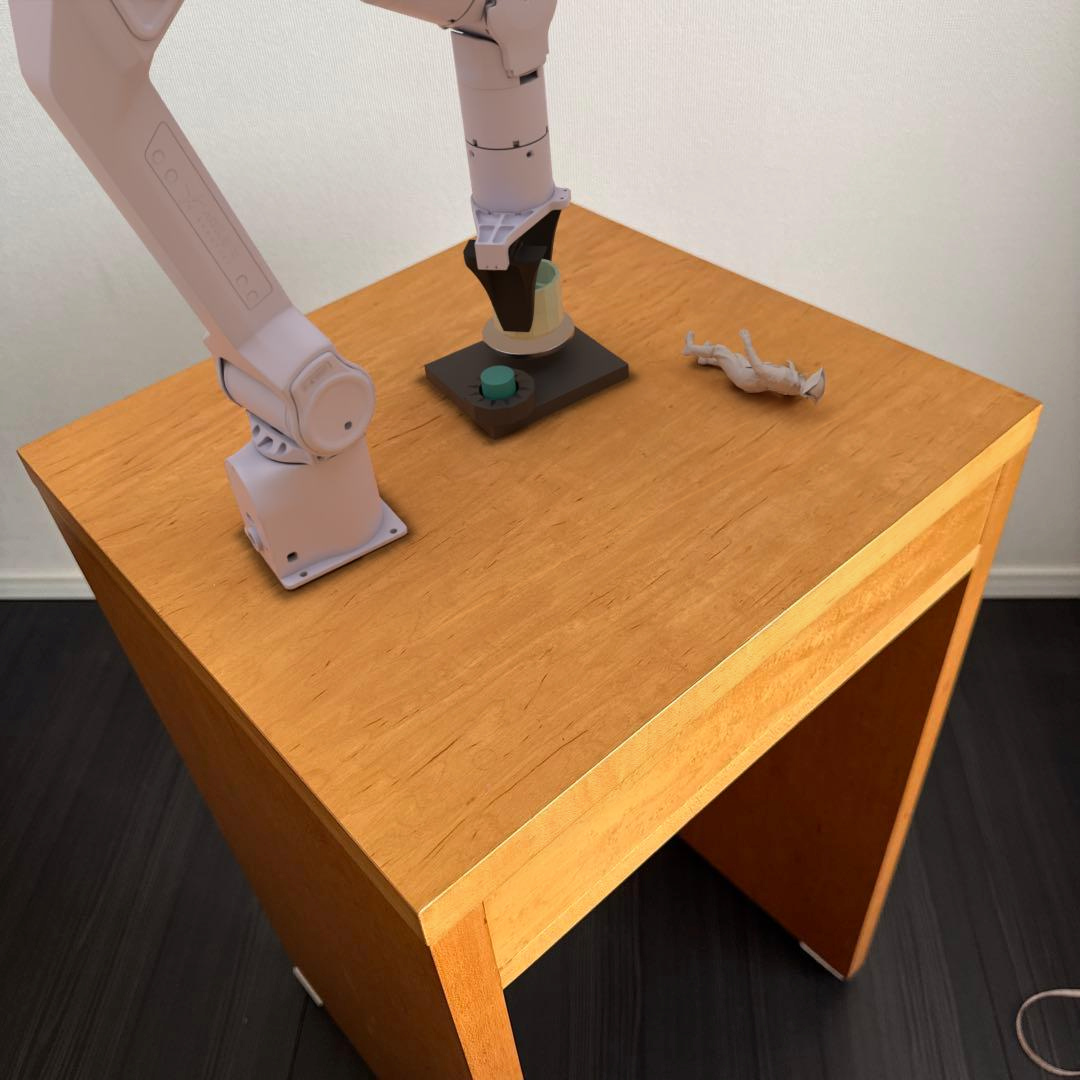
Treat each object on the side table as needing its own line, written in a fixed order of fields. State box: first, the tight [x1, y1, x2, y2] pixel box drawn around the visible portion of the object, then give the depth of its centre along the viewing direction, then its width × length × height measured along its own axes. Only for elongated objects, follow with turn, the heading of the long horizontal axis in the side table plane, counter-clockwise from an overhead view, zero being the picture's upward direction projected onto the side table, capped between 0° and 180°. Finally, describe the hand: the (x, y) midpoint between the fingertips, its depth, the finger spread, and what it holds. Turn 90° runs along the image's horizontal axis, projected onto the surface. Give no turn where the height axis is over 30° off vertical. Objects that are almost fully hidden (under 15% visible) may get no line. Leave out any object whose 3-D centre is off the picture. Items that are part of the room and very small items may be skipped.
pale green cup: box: [490, 259, 564, 340], centre depth 84 cm, size 5×5×4 cm
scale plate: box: [481, 310, 575, 359], centre depth 92 cm, size 8×8×1 cm
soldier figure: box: [681, 328, 827, 406], centre depth 88 cm, size 8×5×12 cm
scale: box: [424, 325, 630, 440], centre depth 92 cm, size 14×12×3 cm
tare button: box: [481, 366, 516, 400], centre depth 87 cm, size 3×3×2 cm
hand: (525, 308), depth 85 cm, fingers closed on pale green cup, 5 cm apart
